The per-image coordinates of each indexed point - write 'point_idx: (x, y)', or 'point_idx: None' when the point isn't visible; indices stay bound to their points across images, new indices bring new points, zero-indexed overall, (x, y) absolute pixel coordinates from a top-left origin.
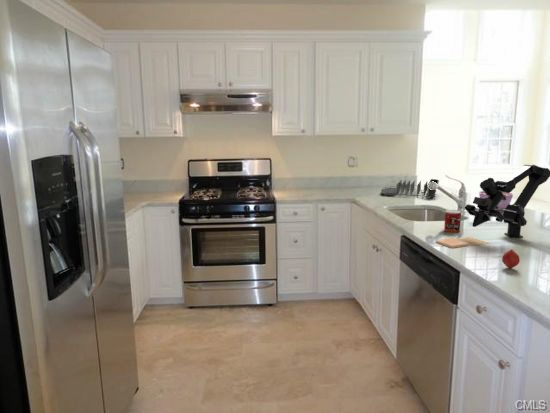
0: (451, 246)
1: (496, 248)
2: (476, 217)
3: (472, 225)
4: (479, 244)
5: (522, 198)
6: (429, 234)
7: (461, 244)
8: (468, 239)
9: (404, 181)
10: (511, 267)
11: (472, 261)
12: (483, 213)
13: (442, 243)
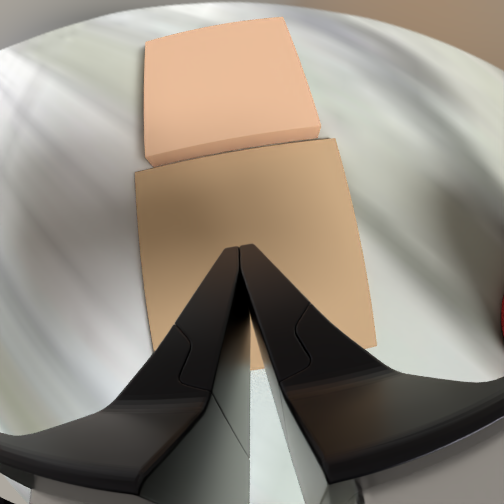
0: (151, 43)
1: (65, 328)
2: (270, 347)
3: (250, 244)
4: (148, 264)
5: None
6: (478, 115)
7: (144, 97)
8: (309, 278)
9: None
10: None
11: (6, 80)
12: (6, 439)
13: (226, 27)
